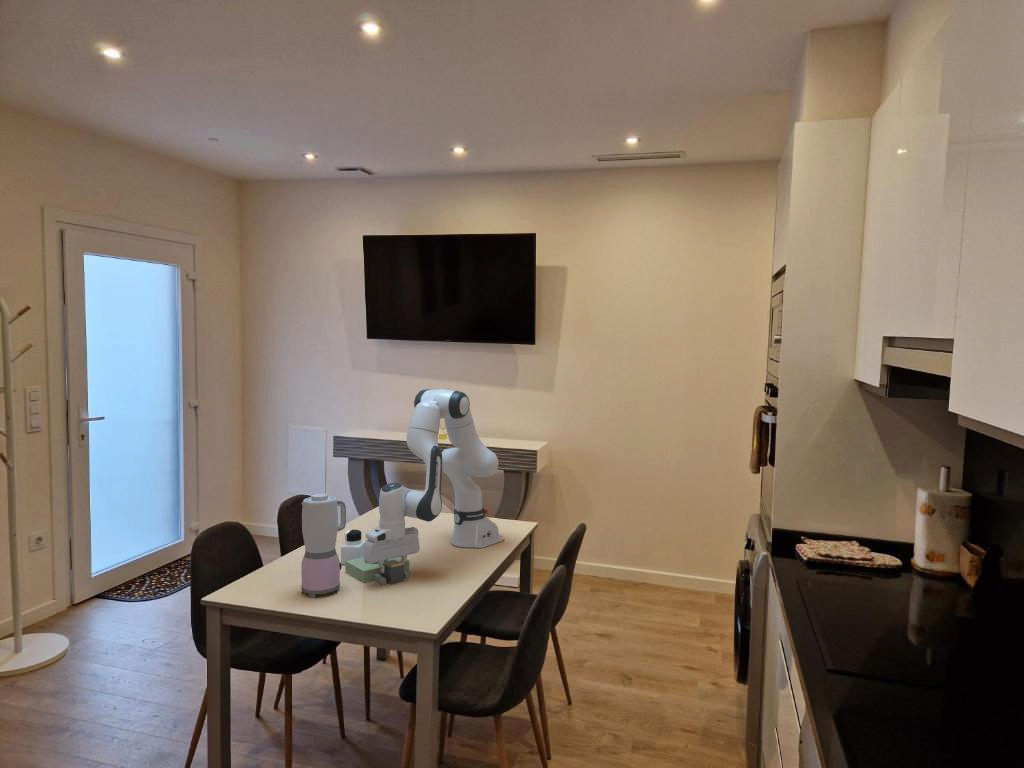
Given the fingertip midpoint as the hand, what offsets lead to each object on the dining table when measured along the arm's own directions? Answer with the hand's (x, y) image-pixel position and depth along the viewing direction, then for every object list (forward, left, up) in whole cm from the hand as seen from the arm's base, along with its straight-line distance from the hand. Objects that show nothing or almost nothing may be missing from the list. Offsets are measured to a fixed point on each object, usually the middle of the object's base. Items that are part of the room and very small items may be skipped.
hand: (392, 570), depth 232 cm
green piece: (0, -8, -3) cm, 8 cm away
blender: (+22, -6, -4) cm, 23 cm away
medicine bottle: (+2, -26, -4) cm, 26 cm away
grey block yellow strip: (0, 0, -4) cm, 4 cm away
